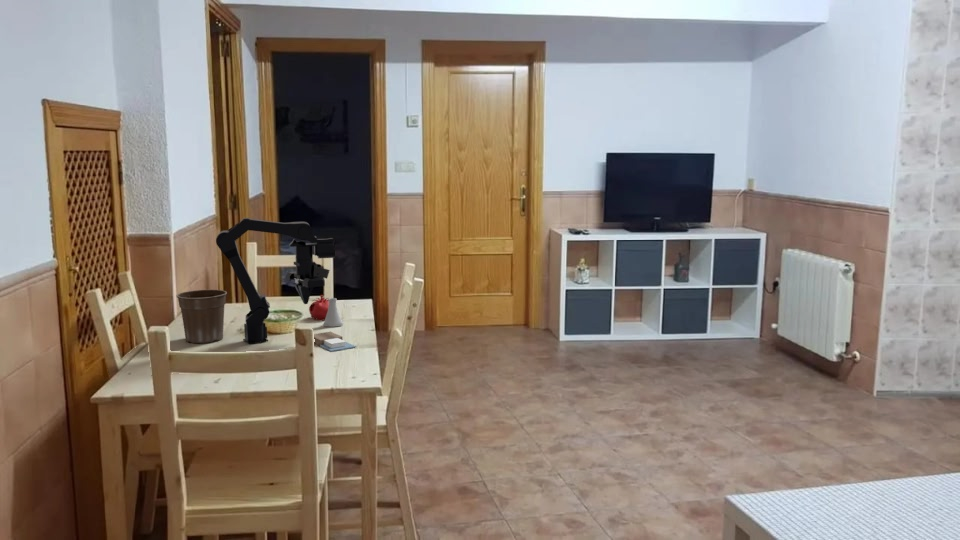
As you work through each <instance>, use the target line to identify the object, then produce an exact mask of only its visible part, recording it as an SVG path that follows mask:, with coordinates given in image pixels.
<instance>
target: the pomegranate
mask: <svg viewBox="0 0 960 540" xmlns="http://www.w3.org/2000/svg"><path fill="white" fill-rule="evenodd" d="M319 297H320V298H319ZM319 297H317V299H313V300H312V302H311V304H310V305H309V308H308V311H309V314H310V317H311V318H312V319H314V320H318V321H325V318H326V315H327V312H328V307H329V301H328V299H329V298H330V297H326V298H325V297H324V295H323V294H320V296H319Z"/></svg>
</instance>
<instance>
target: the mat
mask: <svg viewBox="0 0 960 540" xmlns="http://www.w3.org/2000/svg"><path fill="white" fill-rule="evenodd" d="M345 342H346V346H343V347H337V348H330V347H328V346H326V345H319V347H320V348H322V349H325V350H327V351H329V352H330V353H332V352H339V351H344V350H349V349H355V347H356V348H357V346H356V345H354V344H352V343H349V342H348V341H345Z"/></svg>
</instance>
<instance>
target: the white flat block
mask: <svg viewBox="0 0 960 540" xmlns="http://www.w3.org/2000/svg"><path fill="white" fill-rule="evenodd" d="M346 342H347V341H346V340H343V339H342V340H341V339H339V338H334V339H328V340H324V345H326V346H328V347H330V348H337V347H343V346H346Z"/></svg>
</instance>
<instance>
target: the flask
mask: <svg viewBox="0 0 960 540" xmlns="http://www.w3.org/2000/svg"><path fill="white" fill-rule="evenodd" d="M328 298H329V299H327V300H328V301H329V307H328V312H327V315H326V318H325V320H323V321H324V322H323V324H322V325H323V326H325V327H326V328H327V327H330V328H331V327H332V328H333V327H341V326H343V324H344V323H343V320H342V318H341V315H340V313H339V310H338V307H337V300H338V299H337V298H336V297H331V298H330V297H328Z"/></svg>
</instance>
